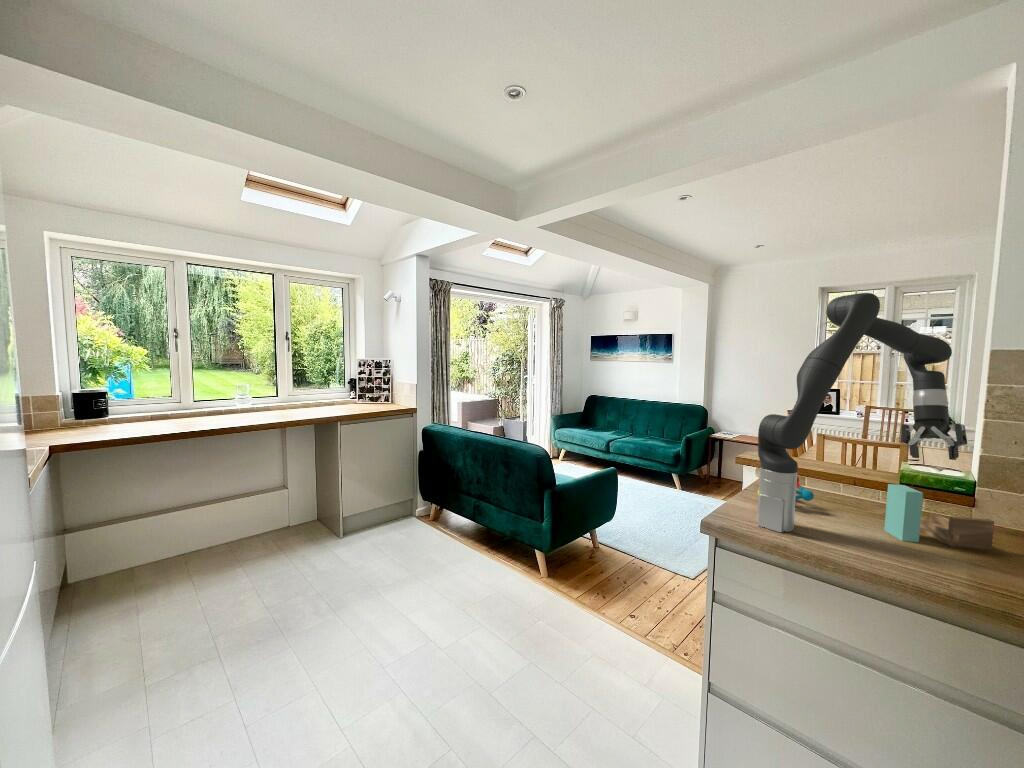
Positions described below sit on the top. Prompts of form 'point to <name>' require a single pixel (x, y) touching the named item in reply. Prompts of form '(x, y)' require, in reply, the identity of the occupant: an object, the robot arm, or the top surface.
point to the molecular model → (802, 493)
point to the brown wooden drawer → (960, 531)
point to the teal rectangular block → (903, 512)
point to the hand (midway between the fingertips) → (933, 458)
